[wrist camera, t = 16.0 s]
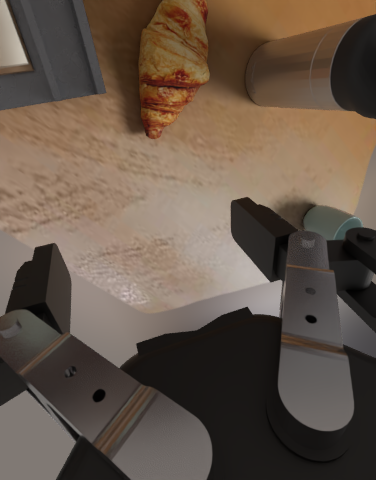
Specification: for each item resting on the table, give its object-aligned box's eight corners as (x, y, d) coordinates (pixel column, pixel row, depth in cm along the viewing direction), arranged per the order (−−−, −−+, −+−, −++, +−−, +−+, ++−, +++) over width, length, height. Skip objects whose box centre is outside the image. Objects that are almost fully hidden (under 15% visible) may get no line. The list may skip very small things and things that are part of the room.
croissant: (166, -28, 38) (156, -74, 31) (235, -2, 39) (242, -41, 31) (127, 130, 44) (110, 124, 37) (187, 151, 45) (182, 150, 37)
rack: (60, -60, 31) (61, -87, 26) (101, 93, 38) (106, 92, 34) (-104, -56, 27) (-138, -87, 22) (-23, 113, 34) (-35, 116, 30)
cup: (292, 222, 63) (327, 241, 55) (315, 194, 62) (354, 209, 54) (308, 238, 67) (342, 258, 59) (329, 212, 66) (368, 229, 58)
